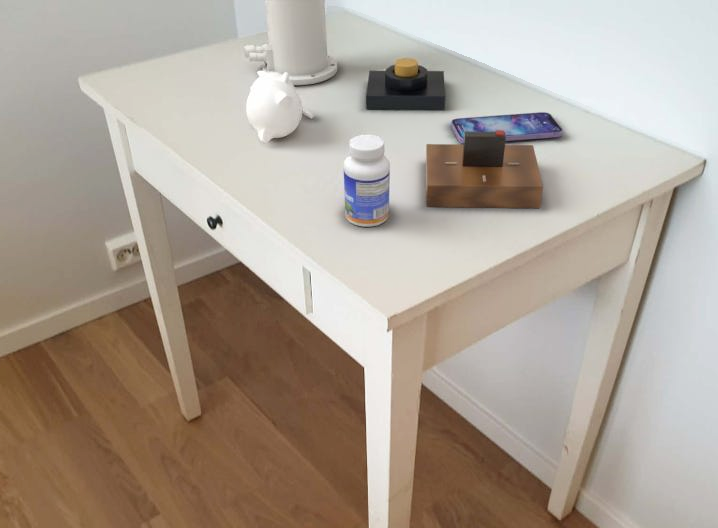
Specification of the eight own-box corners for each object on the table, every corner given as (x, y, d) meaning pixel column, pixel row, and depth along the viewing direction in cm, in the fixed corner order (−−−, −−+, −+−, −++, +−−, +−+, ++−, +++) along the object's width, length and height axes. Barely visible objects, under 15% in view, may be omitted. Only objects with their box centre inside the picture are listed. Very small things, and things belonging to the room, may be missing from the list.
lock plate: (426, 206, 90) (427, 184, 88) (425, 164, 98) (426, 142, 96) (540, 208, 90) (543, 185, 87) (530, 165, 98) (533, 143, 96)
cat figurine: (260, 49, 105) (263, 77, 96) (324, 84, 110) (333, 115, 101) (235, 102, 109) (235, 134, 100) (297, 133, 114) (303, 167, 105)
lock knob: (462, 166, 92) (465, 134, 89) (462, 161, 93) (464, 129, 90) (502, 166, 91) (506, 134, 88) (501, 161, 92) (505, 129, 89)
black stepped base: (366, 109, 112) (365, 83, 109) (369, 84, 119) (369, 59, 116) (444, 110, 111) (446, 84, 108) (443, 84, 118) (444, 59, 116)
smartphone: (449, 118, 107) (548, 111, 108) (449, 124, 107) (547, 117, 109) (461, 139, 101) (565, 131, 103) (460, 146, 102) (564, 138, 103)
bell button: (394, 78, 111) (394, 66, 110) (394, 69, 114) (395, 57, 113) (417, 78, 111) (418, 66, 110) (417, 69, 114) (418, 58, 113)
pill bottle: (344, 206, 91) (340, 132, 84) (387, 203, 91) (387, 129, 84) (346, 229, 87) (343, 154, 80) (391, 227, 87) (392, 151, 80)
